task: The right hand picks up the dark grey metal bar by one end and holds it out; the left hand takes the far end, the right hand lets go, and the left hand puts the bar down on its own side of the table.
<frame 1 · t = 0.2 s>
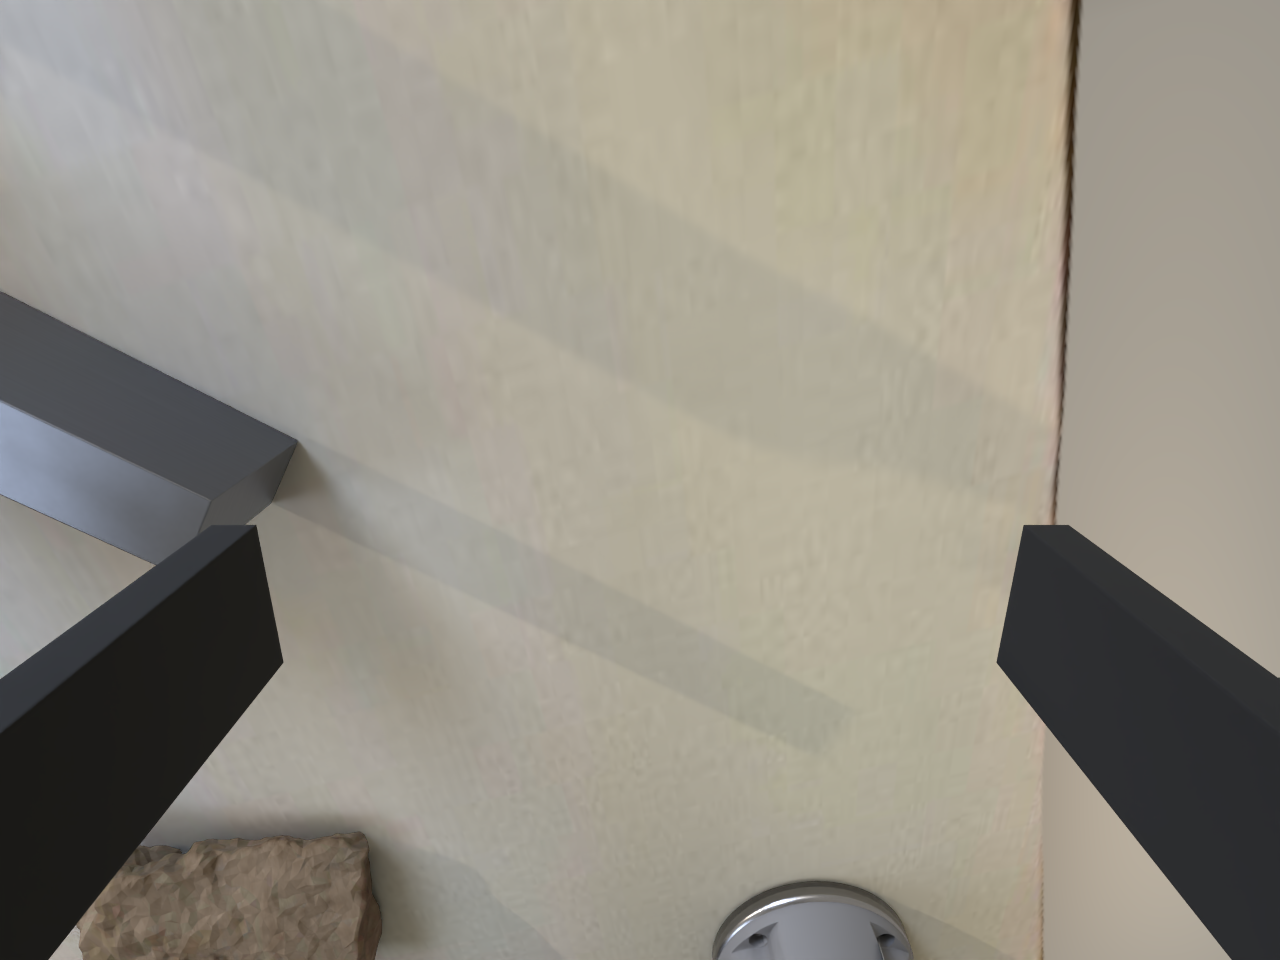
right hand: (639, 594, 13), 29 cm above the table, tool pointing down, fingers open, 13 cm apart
stone: (247, 884, 55), on the table
bar: (73, 368, 41), on the table
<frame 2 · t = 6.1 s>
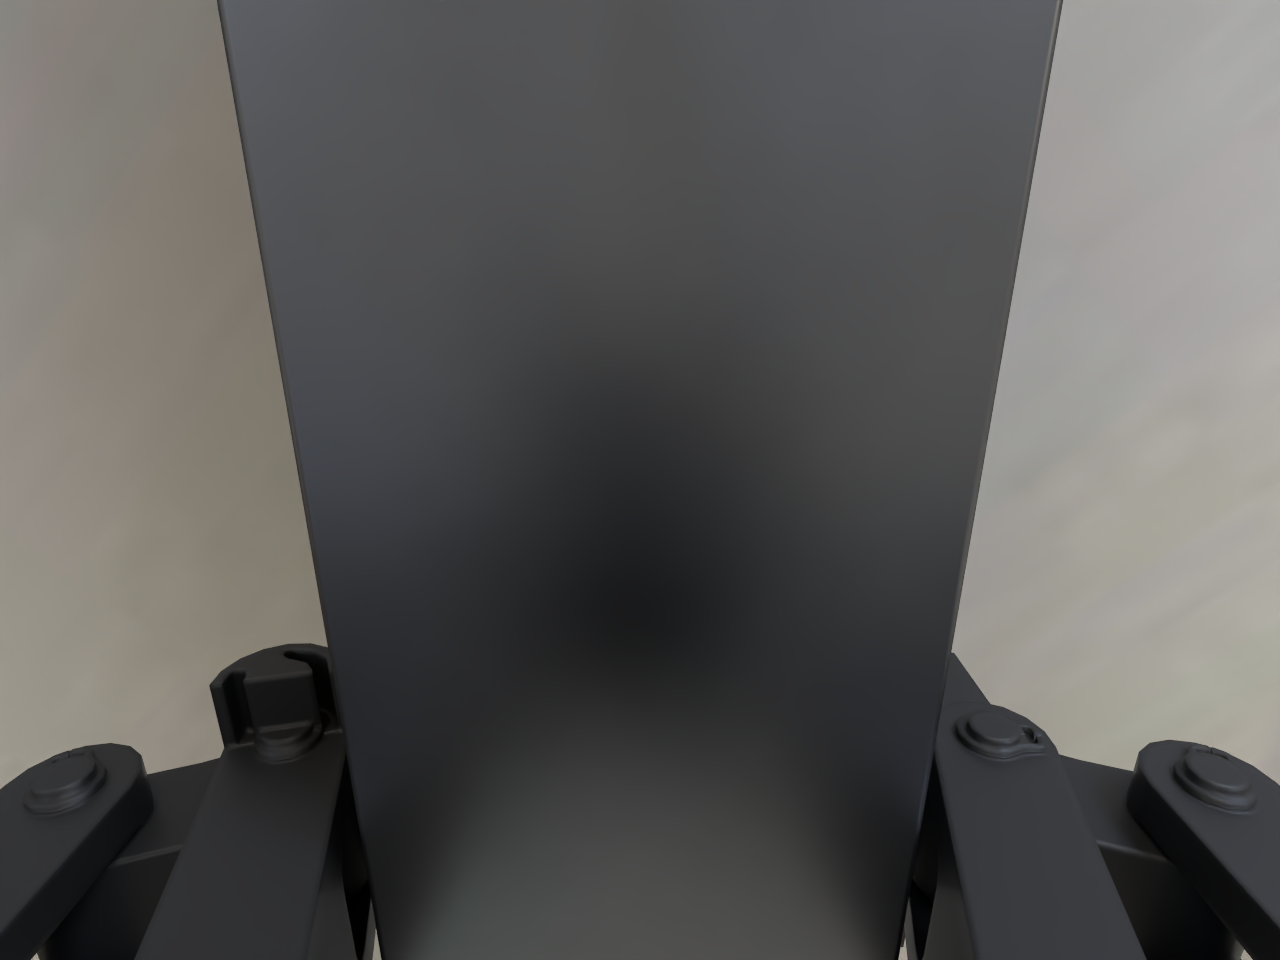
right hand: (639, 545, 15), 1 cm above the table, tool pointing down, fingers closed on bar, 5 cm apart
bar: (639, 20, 12), on the table, touching right hand
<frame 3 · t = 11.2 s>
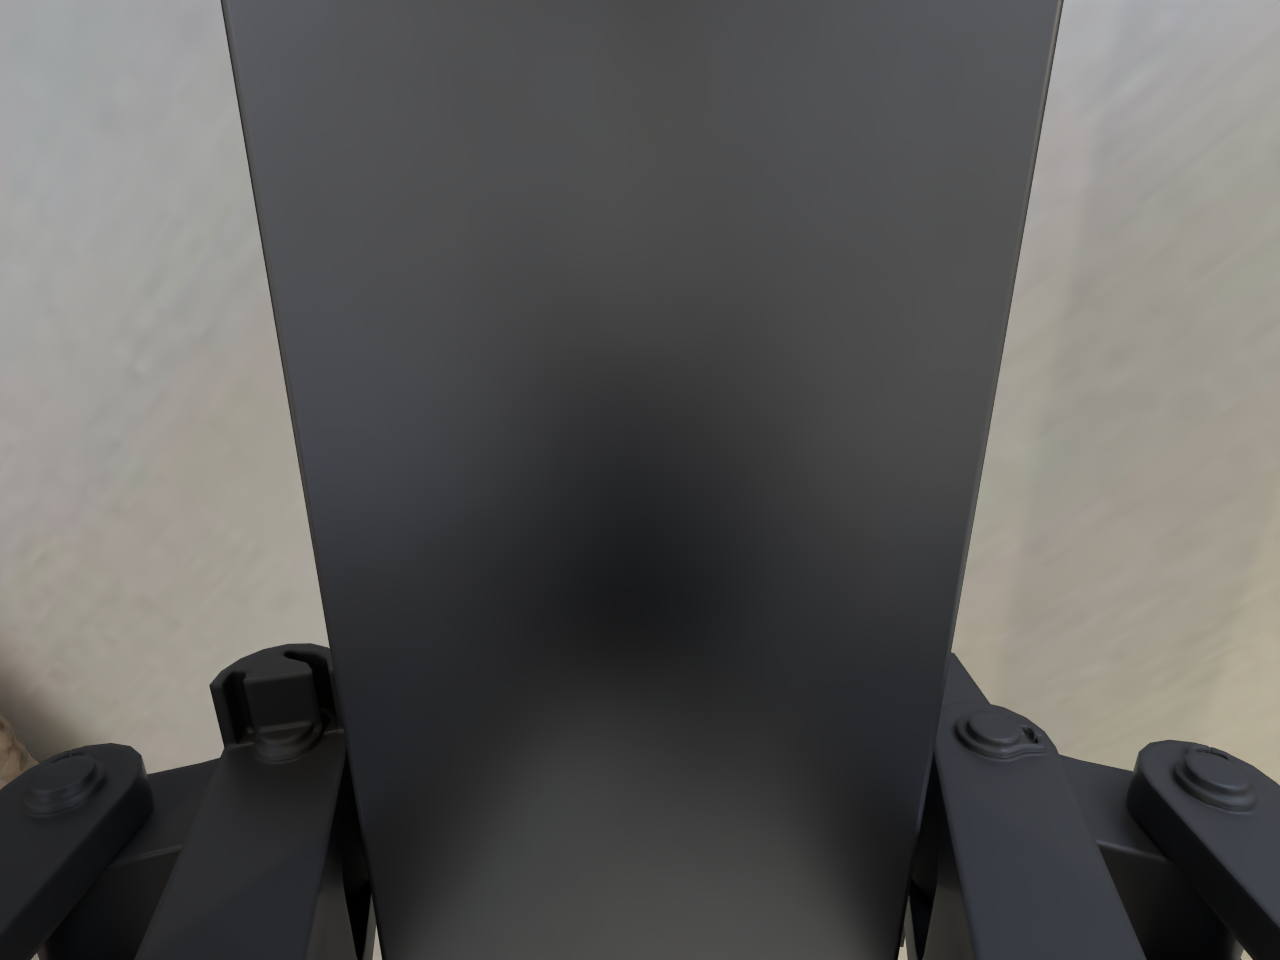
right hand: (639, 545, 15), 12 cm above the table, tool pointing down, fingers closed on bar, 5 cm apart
bar: (640, 19, 12), point 12 cm above the table, touching right hand, left hand
when the right hand's fingers open (12 cm above the table, at t = 12.0 s): bar stays where it is, held by the left hand.
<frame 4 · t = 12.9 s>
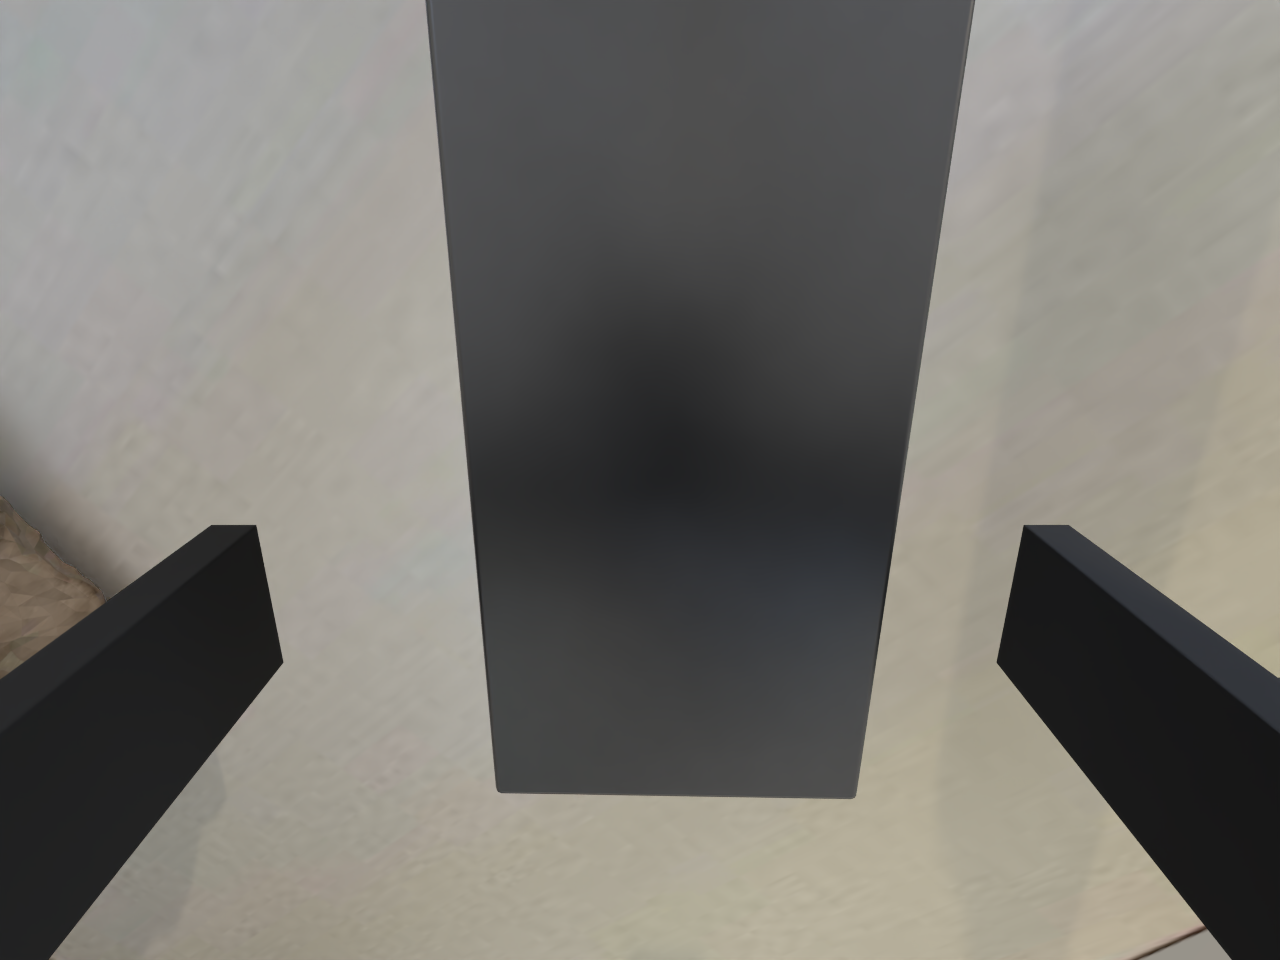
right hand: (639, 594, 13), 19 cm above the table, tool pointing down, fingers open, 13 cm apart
when the left hand's fingers open (6 cm above the table, at t = 17.4 s): bar drops 1 cm, on the table.
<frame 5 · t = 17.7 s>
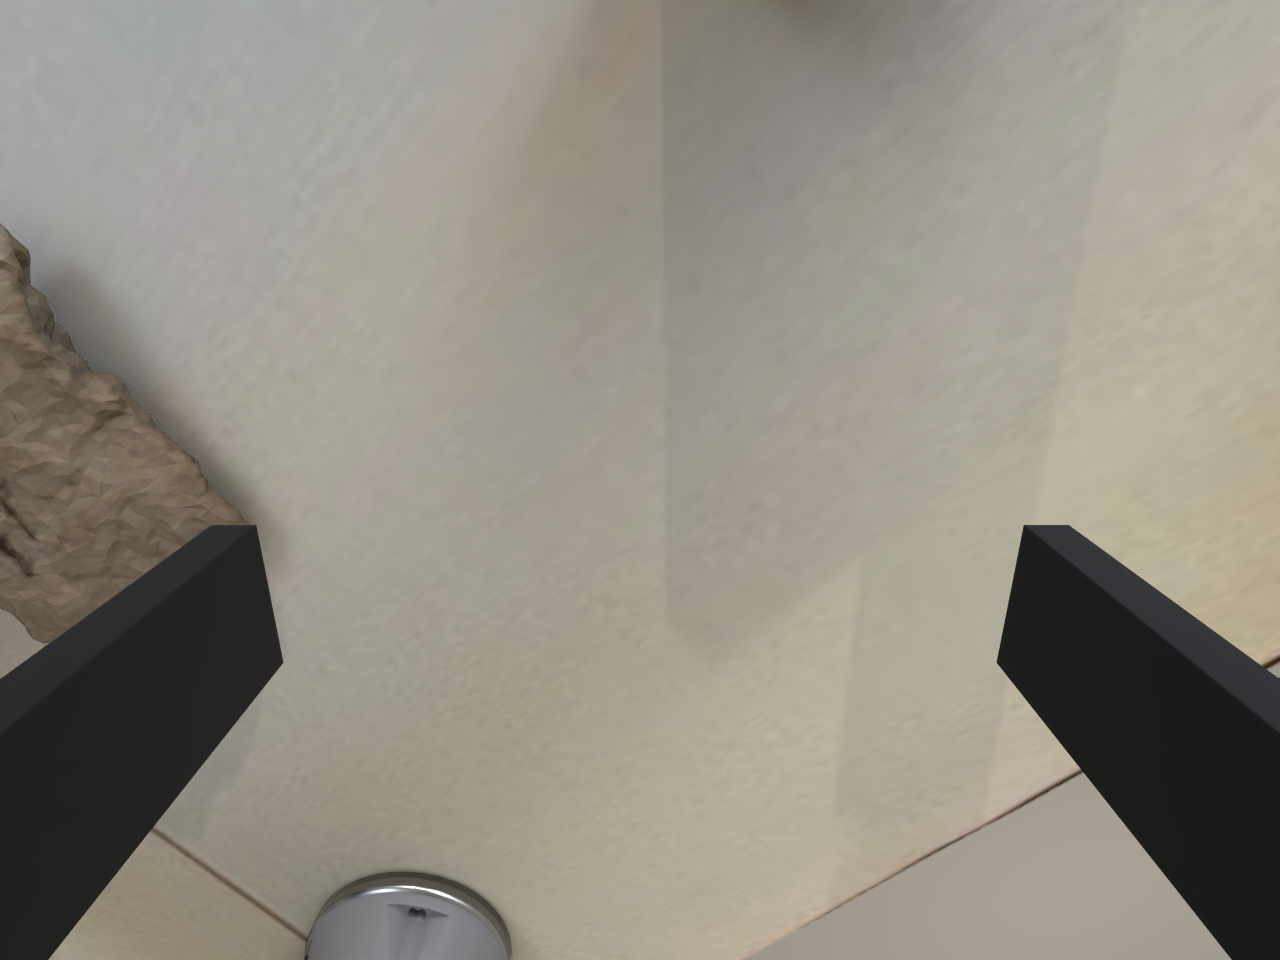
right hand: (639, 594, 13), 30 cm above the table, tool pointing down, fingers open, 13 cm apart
stone: (77, 443, 43), on the table
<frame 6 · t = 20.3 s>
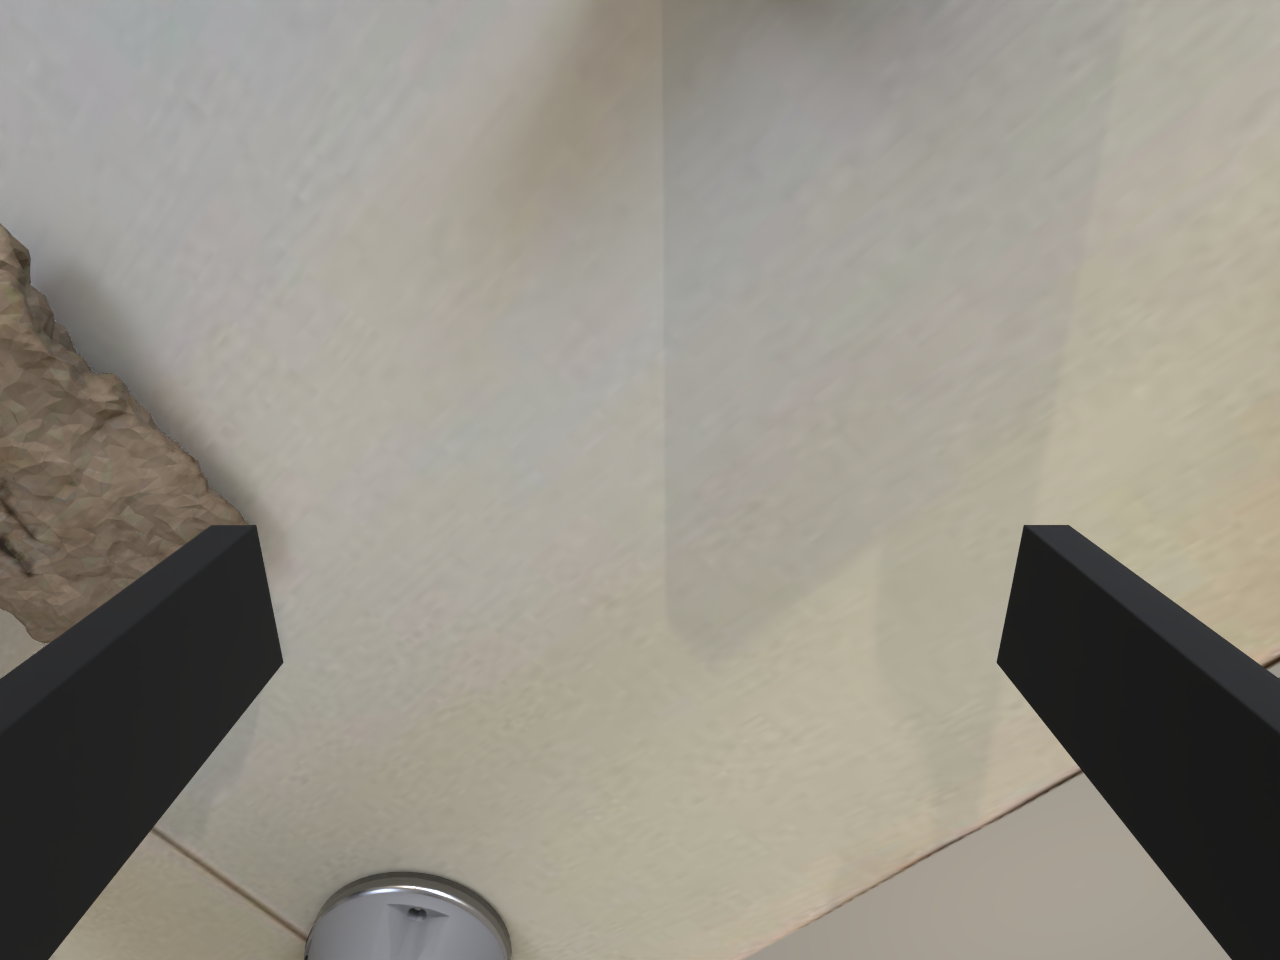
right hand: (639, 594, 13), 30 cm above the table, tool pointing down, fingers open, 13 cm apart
stone: (77, 443, 43), on the table
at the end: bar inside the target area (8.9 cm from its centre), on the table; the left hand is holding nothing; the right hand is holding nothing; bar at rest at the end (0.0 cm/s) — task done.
